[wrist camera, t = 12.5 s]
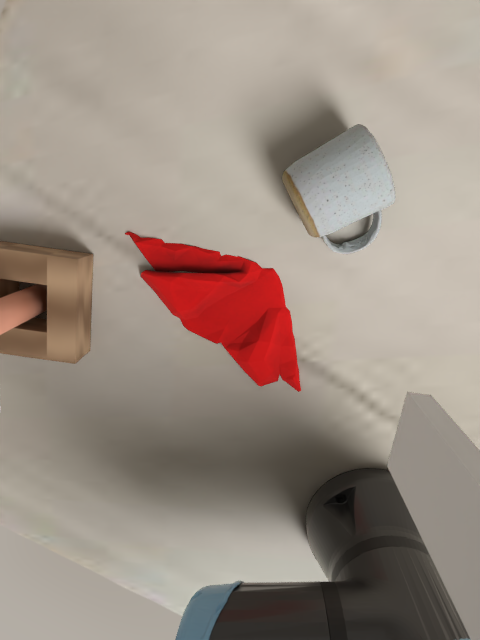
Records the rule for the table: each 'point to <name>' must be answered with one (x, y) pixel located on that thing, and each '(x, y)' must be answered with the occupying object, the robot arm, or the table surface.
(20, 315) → the dowel
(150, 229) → the table surface
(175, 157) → the table surface
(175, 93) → the table surface
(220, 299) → the cloth
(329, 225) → the ceramic mug
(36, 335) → the square frame
